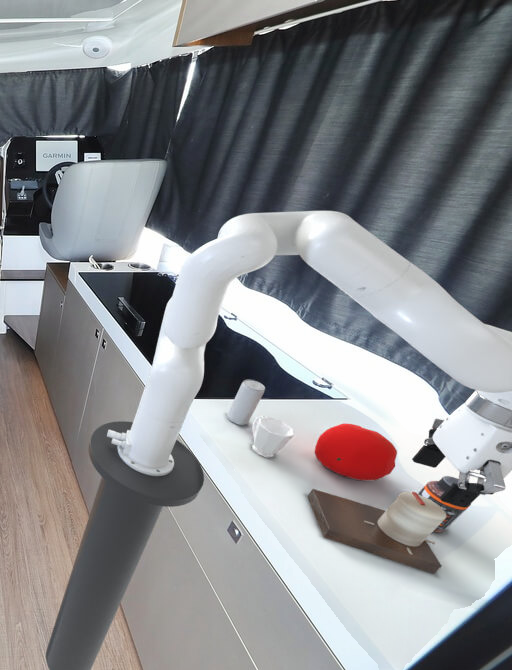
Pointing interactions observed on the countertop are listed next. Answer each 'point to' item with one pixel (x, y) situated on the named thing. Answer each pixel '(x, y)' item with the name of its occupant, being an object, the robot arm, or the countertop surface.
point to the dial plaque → (366, 531)
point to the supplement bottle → (434, 492)
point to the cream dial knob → (411, 518)
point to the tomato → (356, 452)
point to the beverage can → (245, 402)
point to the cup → (270, 435)
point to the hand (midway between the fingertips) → (436, 482)
